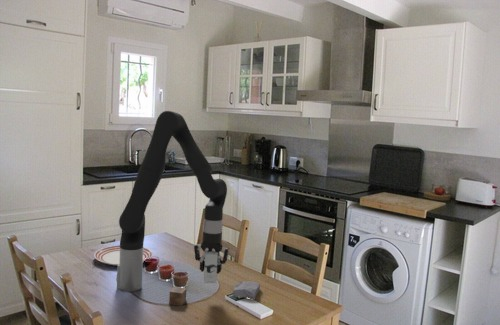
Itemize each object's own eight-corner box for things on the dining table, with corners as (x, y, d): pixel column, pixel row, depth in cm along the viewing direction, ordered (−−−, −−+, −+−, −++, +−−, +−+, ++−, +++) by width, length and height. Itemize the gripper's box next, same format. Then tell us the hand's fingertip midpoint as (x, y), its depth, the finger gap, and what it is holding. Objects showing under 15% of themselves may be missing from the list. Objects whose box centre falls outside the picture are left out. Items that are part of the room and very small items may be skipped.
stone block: (232, 302, 179) (256, 300, 177) (230, 290, 178) (254, 288, 176) (238, 291, 190) (261, 290, 188) (237, 280, 190) (260, 279, 188)
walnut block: (169, 304, 169) (169, 291, 169) (173, 298, 174) (174, 286, 174) (181, 305, 168) (182, 293, 168) (185, 300, 173) (186, 288, 173)
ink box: (203, 275, 178) (205, 246, 177) (216, 275, 179) (217, 247, 177) (203, 283, 170) (205, 253, 168) (216, 283, 170) (218, 254, 169)
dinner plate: (164, 259, 219) (164, 252, 219) (121, 274, 196) (121, 267, 196) (126, 247, 234) (126, 241, 233) (81, 260, 211) (81, 253, 210)
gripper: (232, 229, 174) (230, 271, 176) (197, 225, 177) (195, 266, 179) (228, 234, 167) (225, 277, 169) (191, 230, 170) (189, 272, 171)
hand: (210, 271), depth 174 cm, fingers closed on ink box, 5 cm apart
